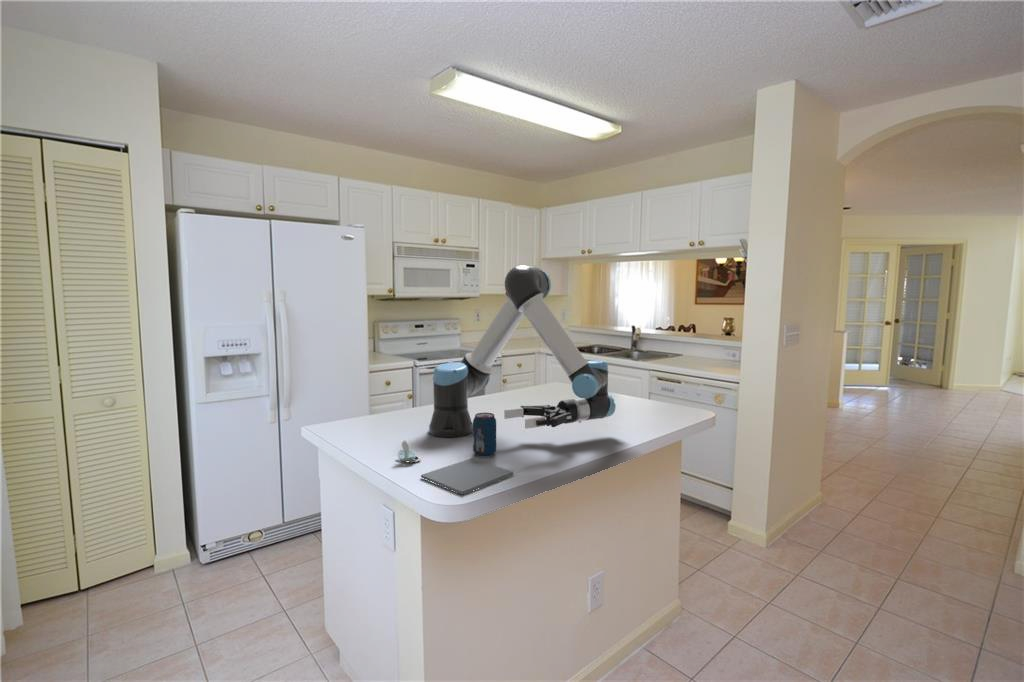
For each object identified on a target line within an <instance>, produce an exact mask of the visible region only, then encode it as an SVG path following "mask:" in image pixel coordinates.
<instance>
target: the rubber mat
mask: <svg viewBox="0 0 1024 682" xmlns="http://www.w3.org/2000/svg"><path fill="white" fill-rule="evenodd" d="M512 475H513V476H514V471H512V470H509V469H506V468H503V467H500V466H498V465H494V464H490V463H489V462H486V461H482V460H481V459H480V460H479V459H476V458H473V457H471V458H468V459H465V460H462V461H459V462H456V463H452V464H449V465H447V466H444V467H443V466H442V467H441V468H437V469H434V470H431V471H429V472H426V473H422V474H421V475H420V478H421V477H422V478H424V479H427V480H429V481H432V482H434V483H436V484H439V485H441V486H443V487H446V488H448V489H450V490H453V491H455V492H457V493H459V494H462V495H463V494H465V495H467V494H466V493H468V494H470V493H472V492H471V491H473V490H475V491H477V490H476V489H478V488H480V489H482V488H481V487H483V488H485V487H487V486H486V485H488V486H490V485H492V484H491V483H493V484H495V483H498V482H500V481H502V479H503V480H505V479H507V477H508V478H510V477H509V476H511V477H513V476H512ZM504 478H505V479H504ZM499 480H500V481H499ZM497 481H498V482H497ZM494 482H495V483H494ZM489 484H490V485H489ZM484 486H485V487H484ZM450 490H449V491H450ZM478 490H479V489H478ZM455 492H454V493H455ZM469 492H470V493H469ZM473 492H474V491H473ZM457 493H456V494H457ZM459 494H458V495H459ZM462 495H461V496H462ZM463 496H464V495H463Z"/></svg>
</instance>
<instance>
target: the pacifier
mask: <svg viewBox="0 0 1024 682" xmlns="http://www.w3.org/2000/svg"><path fill="white" fill-rule="evenodd" d="M401 446H402V447H401V448H402V449H401V450H399V451H398V452H397V457H398V458H399V459H400V460H401V461H403V462H404V461H409V462H410V463H412V462H415V463H418V461H419V462H420V461H422V460H421V459H422V458H421V457H420V456H419V455H417V454H415V452H413V451H410V448H409V443H408V442H407V440H405V439H404V440H403V441H402V442H401ZM416 457H417V458H418V459H417V458H416Z"/></svg>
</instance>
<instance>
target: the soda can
mask: <svg viewBox="0 0 1024 682" xmlns="http://www.w3.org/2000/svg"><path fill="white" fill-rule="evenodd" d="M472 424H473V432H472V451H473V452H474V455H475V456H476V457H478V456H479V458H489V457H490V458H491V457H493V456H494V455H495V453H496V452H497V420H496V417H495V414H494V413H492V412H478V413H476V414H474V418H473V420H472Z"/></svg>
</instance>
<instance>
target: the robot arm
mask: <svg viewBox="0 0 1024 682" xmlns="http://www.w3.org/2000/svg"><path fill="white" fill-rule="evenodd" d="M504 278H505V279H504V289H505V293H504V295H505V301H504V303H503V304H502V305H501V306H500V308H499V310H498V311H497V313H496V315H495V316H494V318H493V319H492V320H491V323H490V324H489V326H488V327H487V329H486V330H485V331H484V333H483V334H482V336H481V338H480V339H479V341H478V342H477V344H476V345H475V347H474V349H473V350H472V351H471V352H467V353H466V354H465V355H464V357H463V358H462V360H461V361H460V362H456V361H455V362H447V363H442V364H438V365H437V366H436V367H434V369H433V377H432V380H433V413H432V415H431V420H430V423H429V424H428V430H429V431H428V433H429V434H430V435H431V434H433V435H432V436H434V435H435V436H434V437H439V438H456V437H457V438H458V437H463V436H464V437H465V436H467V435H470V434H473V421H472V419H471V416H470V412H469V408H468V406H469V405H468V403H469V402H468V399H469V398H468V397H469V396H471V395H474V394H478V393H480V392H481V391H483V390H484V389H485V388H486V387H487V386H488V385H489V382H490V377H491V375H492V373H493V371H494V370H493V369H494V368H493V363H494V362H495V361H496V360H497V358H498V356H499V355H500V353H501V352H502V351H503V349H504V347H505V346H506V344H508V341H509V340H510V338H511V337H512V335H513V334H514V332H515V331H516V329H517V327H518V326H519V325H520V323H521V322H522V320H523V319H524V317H526V318H527V320H528V322H529V323H530V324H531V326H532V327H533V328H534V330H535V332H536V333H537V334H538V336H539V337H540V339H541V340H542V342H543V343H544V345H545V346H546V347H547V349H548V351H549V352H550V354H551V355H552V356H553V357H554V359H555V360H556V362H557V363H558V365H559V366H560V368H561V369H562V371H563V372H564V374H565V375H566V376H567V377H568V379H569V381H570V382H571V387H572V388H571V389H572V392H573V393H574V395H575V396H577V397H578V398H571V399H563V400H560V401H558V403H557V405H556V406H555V405H550V404H545V405H520V407H517V408H511V409H510V408H509V409H504V410H503V411H504V420H507V419H515V418H524V416H536V417H530V418H524V428H525V429H533V428H539V427H545V426H546V427H552V428H555V427H557V426H560V425H563V424H566V425H567V424H573V423H577V422H578V423H579V424H581V423H582V422H586V421H589V420H590V421H591V420H598V419H600V420H601V419H605V418H608V417H609V418H610V417H612V416H613V415H614V413H615V411H616V403H615V399H614V398H613V396H612V395H610V394H609V386H608V385H609V383H608V382H609V365H608V362H607V361H605V360H597V359H596V360H586V358H585V357H584V356H583V354H582V353H581V351H580V350H579V349H578V347H577V346H576V344H575V343H574V342H573V340H572V338H571V337H570V336H569V334H568V332H566V329H564V327H563V326H562V324H561V323H560V321H559V320H558V318H557V317H556V315H555V314H554V313H553V312H552V309H550V307H549V306H548V304H547V303H546V302H545V300H544V299H546V298H547V296H548V295H549V294H550V292H551V288H552V282H551V279H550V276H549V275H548V273H547V272H546V271H544V270H543V269H541V268H539V267H537V266H529V265H525V264H524V265H517V266H514V267H513V268H511V269H510V270H509V271H508V272H507V274H506V276H505V277H504Z"/></svg>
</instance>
